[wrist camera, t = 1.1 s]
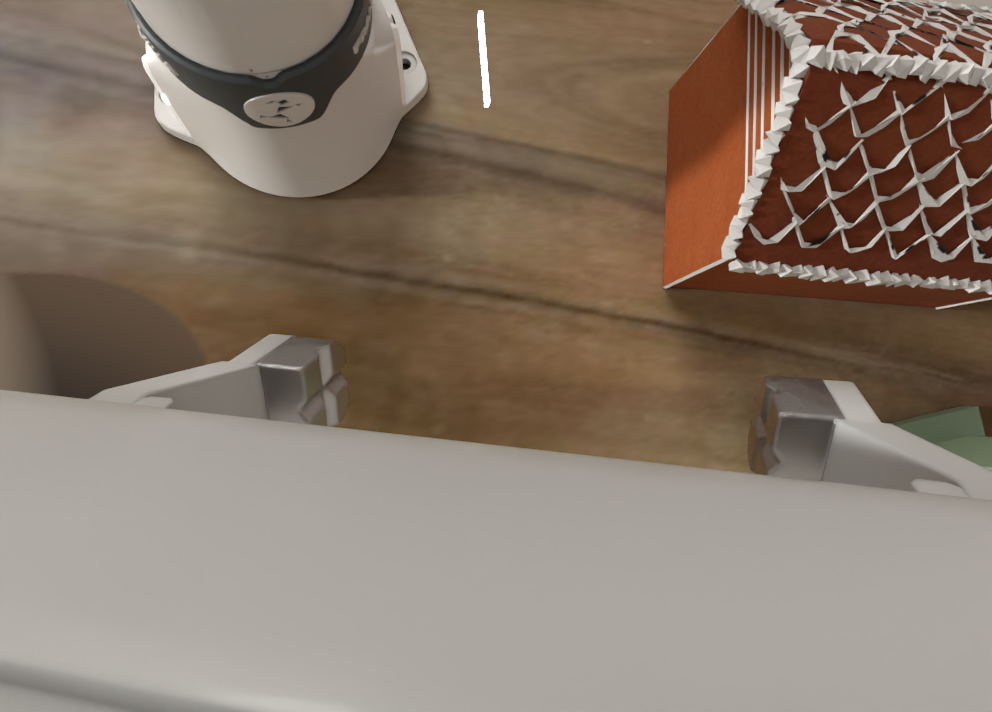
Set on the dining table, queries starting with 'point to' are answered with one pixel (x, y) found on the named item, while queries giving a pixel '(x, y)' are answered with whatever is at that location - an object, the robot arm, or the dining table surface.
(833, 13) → the gingerbread house
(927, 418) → the stand
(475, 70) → the dining table surface
